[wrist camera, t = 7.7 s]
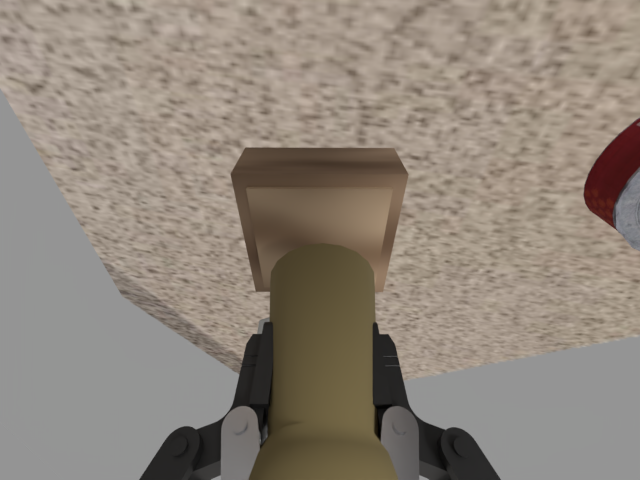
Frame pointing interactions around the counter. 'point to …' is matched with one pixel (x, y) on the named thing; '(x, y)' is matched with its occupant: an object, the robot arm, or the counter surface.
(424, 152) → the counter surface
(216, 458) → the robot arm
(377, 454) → the olive knobbed peg
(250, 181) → the base
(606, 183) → the canned food
